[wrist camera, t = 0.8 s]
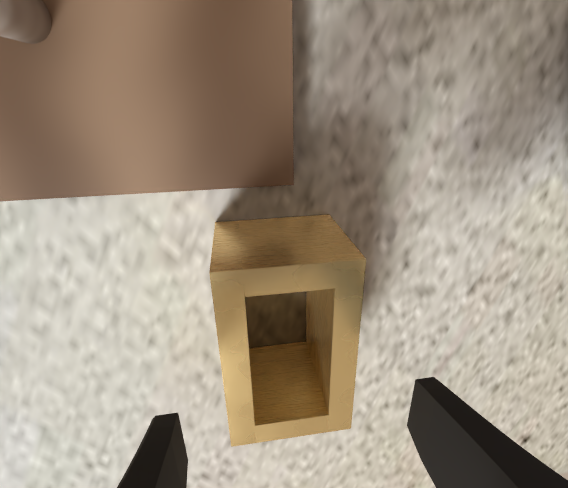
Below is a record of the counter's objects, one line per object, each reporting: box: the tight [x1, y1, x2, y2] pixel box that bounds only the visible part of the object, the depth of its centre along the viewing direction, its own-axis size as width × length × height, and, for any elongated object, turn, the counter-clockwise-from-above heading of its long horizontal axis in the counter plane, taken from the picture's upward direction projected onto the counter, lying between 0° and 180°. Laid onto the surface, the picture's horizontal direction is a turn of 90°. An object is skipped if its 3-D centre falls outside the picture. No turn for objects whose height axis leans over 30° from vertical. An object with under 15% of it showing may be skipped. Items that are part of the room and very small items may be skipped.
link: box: [210, 214, 366, 447], centre depth 14 cm, size 8×5×4 cm, turn 1°
